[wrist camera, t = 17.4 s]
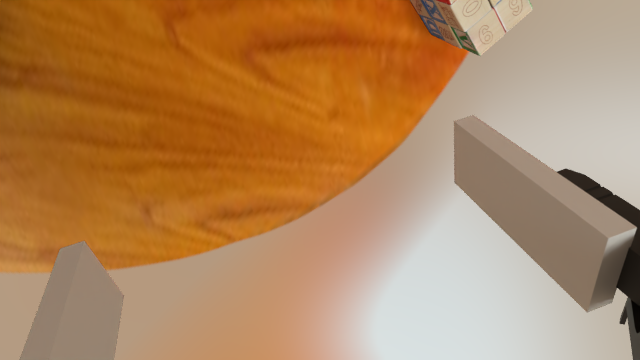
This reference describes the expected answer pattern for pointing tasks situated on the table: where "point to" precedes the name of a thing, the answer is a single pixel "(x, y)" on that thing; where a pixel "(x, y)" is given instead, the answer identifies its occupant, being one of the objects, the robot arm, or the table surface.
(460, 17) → the stack of blocks
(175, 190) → the table surface
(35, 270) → the table surface
